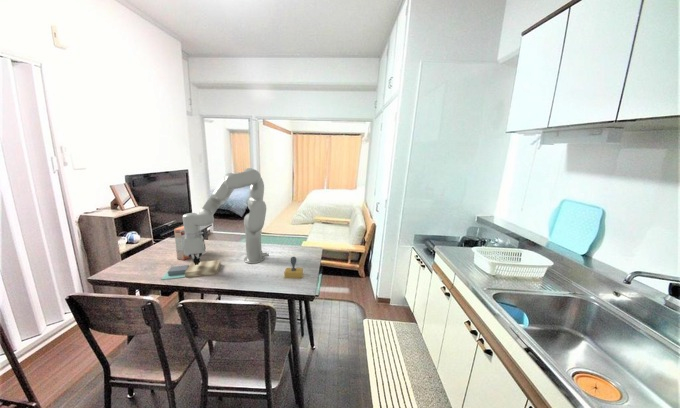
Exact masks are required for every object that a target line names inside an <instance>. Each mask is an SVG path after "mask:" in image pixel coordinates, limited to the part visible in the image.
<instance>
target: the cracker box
mask: <svg viewBox="0 0 680 408" xmlns="http://www.w3.org/2000/svg"><path fill="white" fill-rule="evenodd" d="M173 231H174V232H173V233H174V241H175V242H174V243H175V250H176V251H175V252H176V258H177V260H181V261H185V260H187V259H189V258H191V257H190V256H185V252H184V238H185V232H184V225H181V226H179V227H176V228H174V229H173ZM195 255H196V256H197V254H195Z"/></svg>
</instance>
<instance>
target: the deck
mask: <svg viewBox="0 0 680 408" xmlns="http://www.w3.org/2000/svg"><path fill="white" fill-rule="evenodd" d="M220 268H221V260H220V259H217V260H207V261H200V263H199V264H198V265H195V263H194V262H191V263H190V264H189V267H188V269H187V270H186V272H185V277H184V278H190V277H199V276H202V277H203V276H210V275H217V274H218V272H219V270H220Z"/></svg>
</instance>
